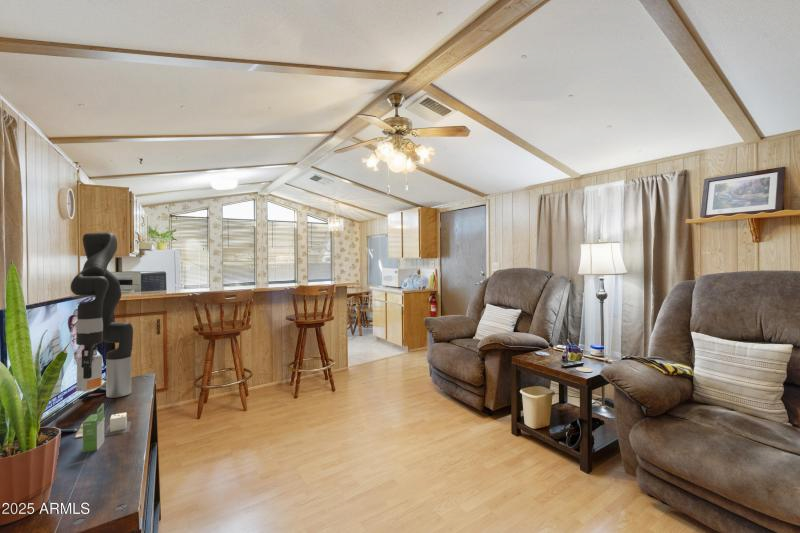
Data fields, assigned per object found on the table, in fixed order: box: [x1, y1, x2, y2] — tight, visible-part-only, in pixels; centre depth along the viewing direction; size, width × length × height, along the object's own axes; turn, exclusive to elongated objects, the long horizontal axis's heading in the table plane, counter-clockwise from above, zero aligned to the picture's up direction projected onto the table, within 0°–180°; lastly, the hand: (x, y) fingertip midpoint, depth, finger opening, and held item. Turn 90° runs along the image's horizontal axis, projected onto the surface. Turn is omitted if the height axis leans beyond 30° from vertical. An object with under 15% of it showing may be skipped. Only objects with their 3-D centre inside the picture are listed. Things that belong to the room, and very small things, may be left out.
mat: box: [104, 420, 132, 437], centre depth 135 cm, size 10×7×1 cm
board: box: [73, 417, 107, 440], centre depth 135 cm, size 15×7×1 cm, turn 33°
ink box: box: [82, 402, 105, 453], centre depth 122 cm, size 7×4×13 cm, turn 23°
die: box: [109, 412, 128, 432], centre depth 136 cm, size 4×4×5 cm
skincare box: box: [75, 354, 103, 392], centre depth 135 cm, size 6×4×12 cm
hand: (89, 375), depth 135 cm, fingers closed on skincare box, 7 cm apart
